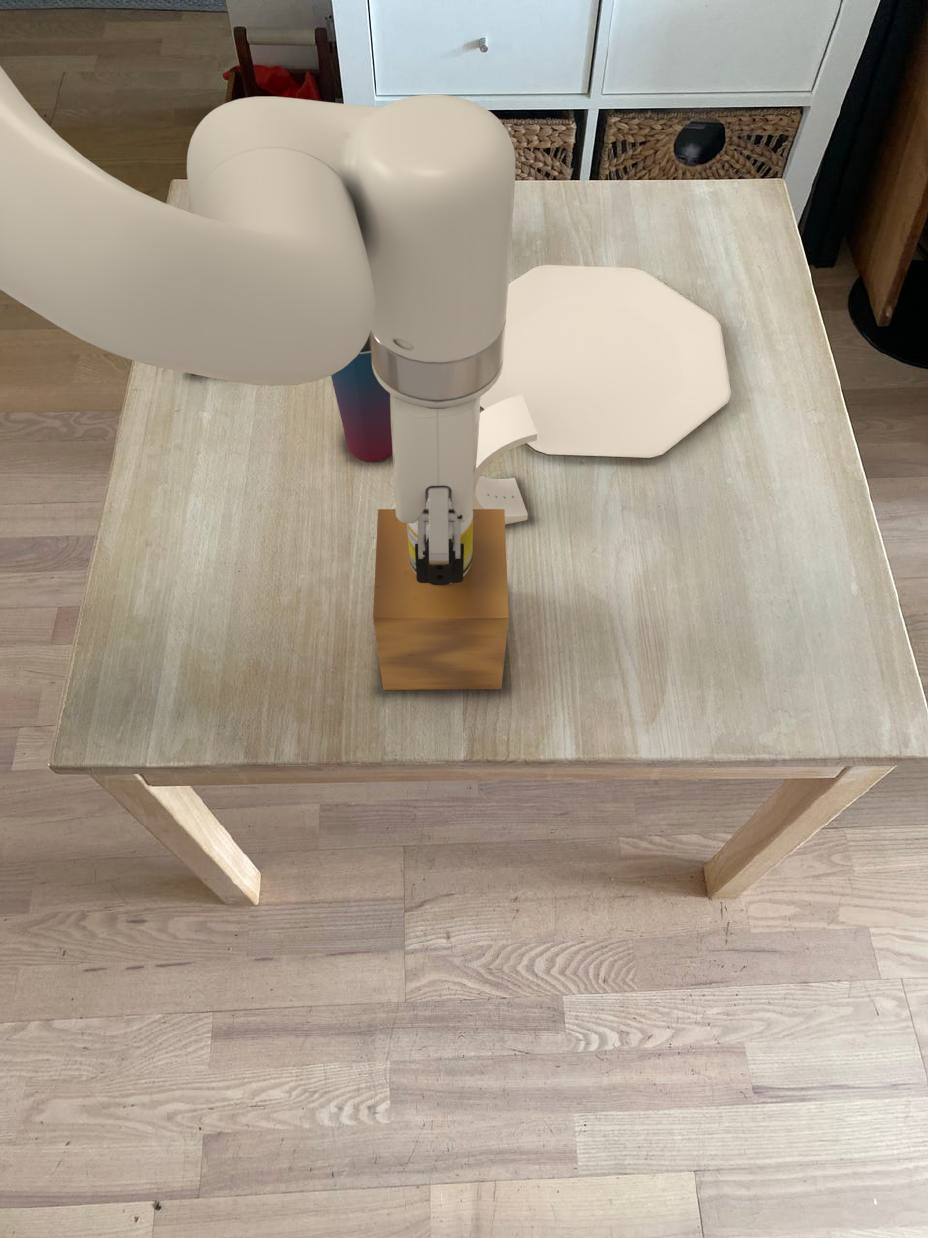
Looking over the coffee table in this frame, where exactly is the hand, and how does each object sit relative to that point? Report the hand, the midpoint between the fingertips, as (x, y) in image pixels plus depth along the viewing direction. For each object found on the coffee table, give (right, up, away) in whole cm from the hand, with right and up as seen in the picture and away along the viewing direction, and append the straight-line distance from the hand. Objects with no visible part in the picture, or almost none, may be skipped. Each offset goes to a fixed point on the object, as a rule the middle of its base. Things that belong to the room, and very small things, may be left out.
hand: (439, 523), depth 66 cm
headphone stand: (+4, +4, +22) cm, 23 cm away
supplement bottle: (0, -3, +4) cm, 5 cm away
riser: (0, -9, +15) cm, 17 cm away
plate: (+15, +20, +32) cm, 41 cm away
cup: (-7, +11, +26) cm, 29 cm away
